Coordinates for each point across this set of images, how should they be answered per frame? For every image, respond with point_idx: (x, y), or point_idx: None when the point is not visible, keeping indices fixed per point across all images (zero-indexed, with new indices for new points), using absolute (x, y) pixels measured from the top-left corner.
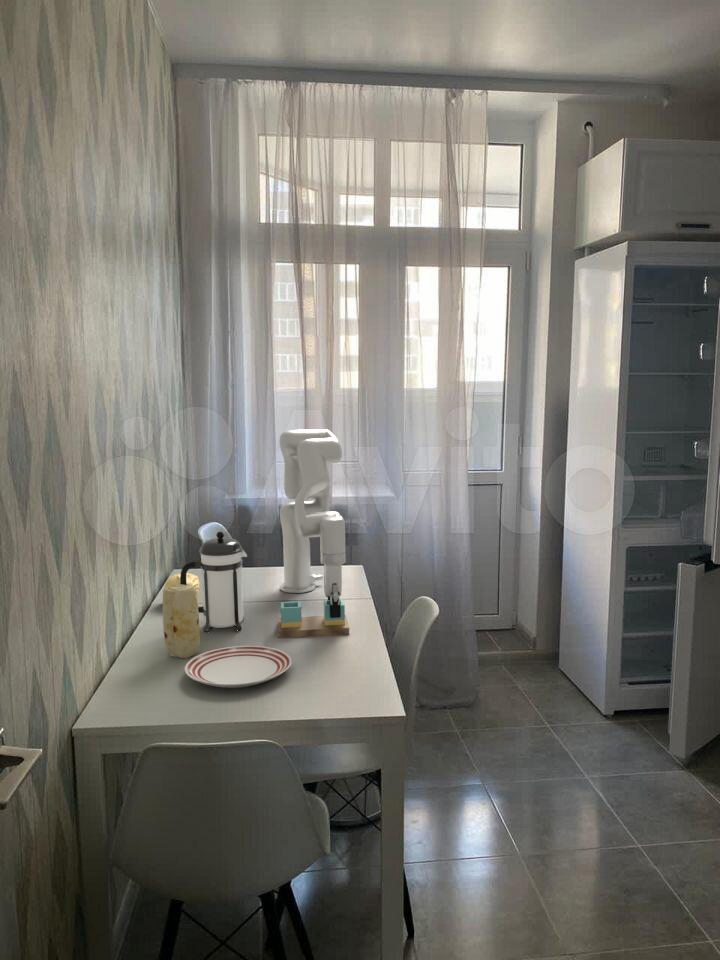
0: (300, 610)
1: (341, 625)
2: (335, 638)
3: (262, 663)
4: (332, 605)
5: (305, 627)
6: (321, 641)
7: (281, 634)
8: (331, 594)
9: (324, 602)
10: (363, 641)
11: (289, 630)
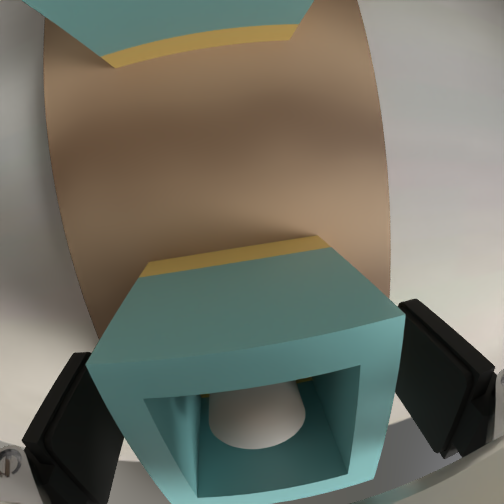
0: (45, 8)
1: None
2: (63, 317)
3: None
4: (38, 457)
5: (94, 103)
6: (10, 242)
7: None
8: (469, 417)
9: (279, 351)
10: None
11: None
